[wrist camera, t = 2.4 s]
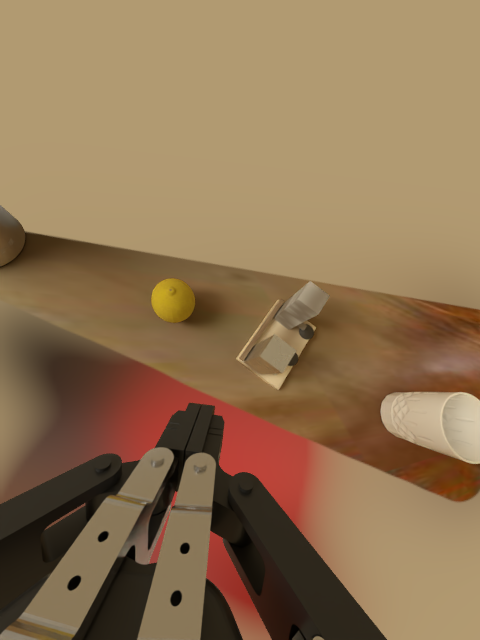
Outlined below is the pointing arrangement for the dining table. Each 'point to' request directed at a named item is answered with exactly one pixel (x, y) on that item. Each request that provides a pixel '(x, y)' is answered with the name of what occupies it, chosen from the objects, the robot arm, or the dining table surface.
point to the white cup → (436, 421)
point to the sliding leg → (270, 356)
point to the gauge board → (286, 338)
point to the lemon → (173, 300)
